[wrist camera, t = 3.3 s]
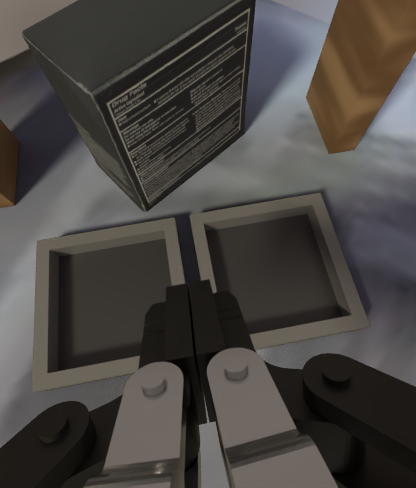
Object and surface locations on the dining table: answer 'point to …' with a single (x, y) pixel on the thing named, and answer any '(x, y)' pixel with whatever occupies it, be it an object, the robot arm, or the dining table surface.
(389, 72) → the tunnel
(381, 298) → the dining table surface
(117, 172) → the small box
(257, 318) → the tray
